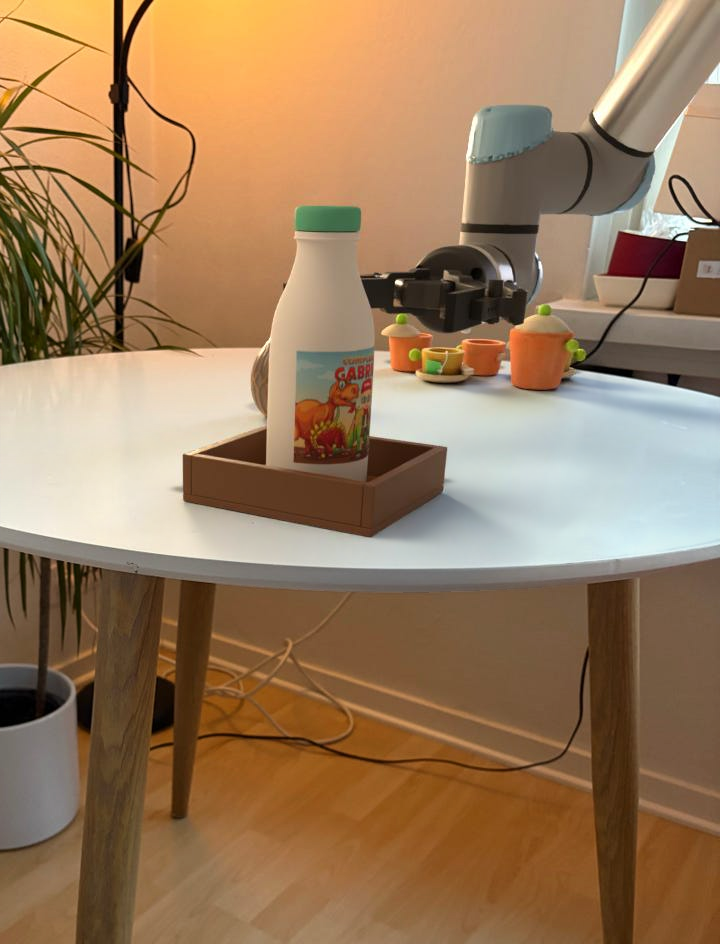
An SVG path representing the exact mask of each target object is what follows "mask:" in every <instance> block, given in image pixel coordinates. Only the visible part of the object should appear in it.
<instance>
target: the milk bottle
mask: <svg viewBox="0 0 720 944" xmlns="http://www.w3.org/2000/svg"><path fill="white" fill-rule="evenodd" d="M361 225H362V210H361V208H360V207H358V206H352V205H350V206H349V205H299V206H296V208H295V210H294V220H293V226H294V230H295V231H294V236H293V239H294V240H295V241H296V253H295V258H294V261H293V266H292V268H291V272H290V274H289V277H288V280H287V282H286V283H287V285H286V287H285V289H284V291H283V290H282V293H281V295H280V298H279V301H278V303H277V305H276V308H275V311H274V315H273V319H272V323H271V328H270V329H271V330H270V337H269V338H270V352H269V376H268V408H267V417H266V418H267V419H266V425H267V449H266V465H268V466H274V467H280V468H286V469H292V470H298V471H304V472H310V473H316V474H322V475H328V476H334V477H340V478H346V479H352V480H358V481H364V482H366V476H367V464H368V450H369V436H371V435H370V433H371V419H372V417H371V416H372V404H373V403H372V402H373V387H374V367H375V340H376V338H375V336H376V335H375V323H374V317H373V316H374V315H373V312H372V308H371V307H370V304H369V301H368V298H367V296H366V293H365V290H364V287H363V284H362V281H361V278H360V275H361V274H360V270H359V265H358V259H357V243H358V241H360V240H361V238H360V230H361Z"/></svg>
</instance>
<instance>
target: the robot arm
mask: <svg viewBox="0 0 720 944" xmlns="http://www.w3.org/2000/svg"><path fill="white" fill-rule="evenodd" d="M719 64H720V0H662V2H661V3H660V5H659V7H658V8H657V10H656V11H655V12H654V14H653V15H652V17H651V19H650V20H649V22H648V24H646V26H645V28H644V30H643V31H642V33H641V34H640V36H639V37H638V39H637V40H636V42H635V44H634V45H633V47H632V48H631V50H630V51H629V52H628V54H627V56H626V57H625V59H624V60H623V62H622V64H621V65H620V66H619V68H618V70H617V71H616V72H615V74H614V76H613V77H612V79H611V80H610V82H609V83H608V85H607V87H605V90H604V91H603V93H602V94H601V96H600V98H599V99H598V100H597V102H596V103H595V105H594V107H593V108H592V110H591V112H590V113H589V114H588V115H587V117H586V119H585V120H584V121H583V123H582V125H581V126H580V128H579V129H578V131H577V132H570V131H559V130H558V131H557V130H554V128H553V112H552V110H551V109H550V108H549V107H547V106H543V105H540V104H539V105H538V104H499V105H488V106H484V107H482V108H481V109H479V110H478V111H477V112H475V114H474V116H473V119H472V123H471V128H470V132H469V138H468V139H469V140H468V145H467V151H466V154H465V160H466V166H465V167H466V168H465V169H466V170H465V179H464V180H465V181H464V182H465V183H464V193H463V203H462V217H461V226H460V232H459V240H458V241H459V242H458V244H457V245H448V246H441V247H438V248H436V249H434V250H431V251H429V252H428V253H427V254H425V255H424V256H423V257H422V258H421V259H420V260H419V262H418V263H417V264H416V265H415V267H414V268H410V269H409V270H408V271H385V272H383V273H380V272H379V271H378V272H373V273H367V274H360V278H361V281H362V284H363V287H364V290H365V293H366V296H367V298H368V301H369V304H370V307H371V309H379V311H380V312H381V313H385V314H387V315H399V314H405V315H409V316H413V317H415V318H416V319H417V321H418V322H419V323H420V324H421V325H422V326H423V327H425V329H428V330H429V331H431V332H434V333H438V334H443V335H444V334H445V335H450V334H455V333H459V332H460V333H462V334H464V335H465V334H470V333H471V332H472V328H474V327H478V326H481V325H484V324H487V325H495V324H498V323H500V321H504V322H506V323H507V324H511V325H512V326H517V325H521V324H524V319H525V317H526V310H527V307H529V305H531V304H532V303H533V302H534V300H535V298H536V297H537V296H538V294H539V292H540V290H541V287H542V285H543V277H544V274H543V265H542V262H541V259H540V258H539V255H538V254H537V252H536V251H537V244H538V234H539V231H540V222H541V221H540V220H541V215H579V216H580V215H585V216H589V217H601V216H606V215H615V214H621V213H625V212H627V211H630V210H631V209H633V208H635V207H636V206H637V205H639V204H640V203H641V202H642V201H643V200H644V199H645V197H646V196H647V195H648V193H649V192H650V190H651V187H652V182H653V179H654V175H656V174H655V173H656V159H655V155H654V153H655V152H656V150H657V149H658V148H659V146H660V145H661V144H662V142H663V141H664V139H665V138H666V136H668V134H669V132H670V131H671V130H672V128H673V127H674V126H675V124H676V123H677V122H678V121H679V119H680V118H681V116H682V115H683V113H684V112H685V111H686V109H688V107H689V105H690V104H691V103H692V102H693V100H694V99H695V97H696V96H697V94H698V93H699V92H700V91H701V89H702V87H703V86H704V84H705V83H706V82H707V81H708V80H709V78H710V77H711V75H712V74H713V73H714V71H715V69H716V68H717V67H718V66H719ZM286 285H287V282H284V283H283V285H282V292H283V291H284V289H285V287H286ZM394 303H396V304H398V305H394Z"/></svg>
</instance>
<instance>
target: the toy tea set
mask: <svg viewBox="0 0 720 944" xmlns="http://www.w3.org/2000/svg"><path fill="white" fill-rule="evenodd" d="M395 322H396V323H393V324H391V325H388V326H386V327H385V328H384V329H383V330H382V331H381V336H383V337H384V336H385V337H388V343H389V358H390V368H391V369H392V370H395V371H398V372H407V373H408V372H409V373H414V372H415V376H416V377H417V378H419V379H421V380H423V381H426V382H432V383H440V384H453V383H459V382H462V381H465V380H467V379H469V378H470V376H481V377H483V376H484V377H485V376H487V377H488V376H495V375H497V374H499V372H500V368H501V364H502V361H505V360H507V357H508V355H507V353H505V349H506V350H508V351H509V353H510V382H511V385H512V386H514V387H516V388H519V389H524V390H535V391H548V390H554V389H557V388H558V387H560V386H561V385H560V384H561V382H562V379H567V378H572V377H574V376H575V375H576V374H577V370H576V369H575V368H574V367H570V366H571V364H572V361H573V360H575V361H576V362H582V361H584V360H585V359H586V357H587V352H586V351H585V349H583V348H579V346H580V343H579V342H578V340H576V339H574V338H575V332H574V330H572V329H570V327H569V326H568V324H567V323H566V322H565V321H563V319H561V318H560V317H558V316H556V315H553V314H552V307H551V305H549V304H547V303H544V304H541V305H540V306H539V307H538V310H537V314H533V315H530V316H528V317H526V318H524V324H521V325H515V327H512V328H511V329H510V331H509V340H508V341H507V343H506V342H505V341H503V340H502V341H501V340H496V339H487V338H468V339H463V340H462V341H461V344H459V345H457V346H456V348H454V347H443V346H442V347H440V346H437V347H435V346H434V347H433V346H432V343H433V338H434V336H433V334H430V333H424V332H420V331H419V330H418V329H417V328H416V327H414V326H413V325H411V324H409V323H408V322H409V317H408V316H407V314H397V315H396V318H395Z"/></svg>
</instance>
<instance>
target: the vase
mask: <svg viewBox="0 0 720 944" xmlns="http://www.w3.org/2000/svg"><path fill="white" fill-rule="evenodd" d="M269 352H270V337H269V338H268V340H267V341H266V342H265V344H264V345H263V347H262V348H260V350H259V352H258V353H257V355H256V357H255V359H254V362H253V364H252V367H251V372H250V391H251V392H250V393H251V397H252V399H253V402H254V405H255V406H256V408H257V409H258V411H259V412H260V413H261V414H262V415H263V416H264V417H266V418H267V408H268V376H269Z"/></svg>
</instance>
